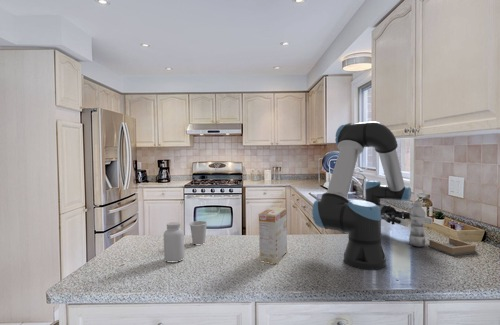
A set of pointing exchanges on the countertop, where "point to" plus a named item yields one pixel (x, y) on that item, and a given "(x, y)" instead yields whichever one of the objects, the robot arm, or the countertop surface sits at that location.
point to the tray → (454, 247)
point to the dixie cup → (198, 231)
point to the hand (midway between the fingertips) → (419, 222)
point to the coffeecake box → (272, 234)
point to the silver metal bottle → (417, 225)
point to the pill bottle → (173, 242)
